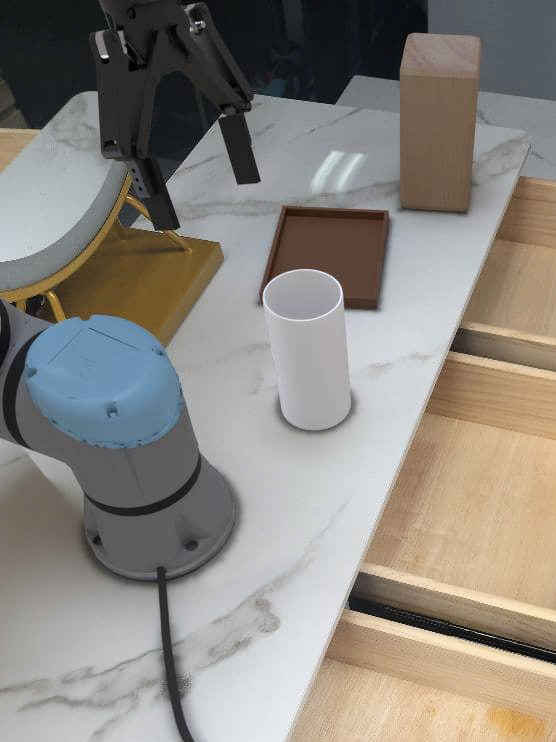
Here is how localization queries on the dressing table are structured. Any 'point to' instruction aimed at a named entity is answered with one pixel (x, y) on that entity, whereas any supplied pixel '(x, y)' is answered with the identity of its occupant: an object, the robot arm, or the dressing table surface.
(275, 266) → the tray
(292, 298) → the cup
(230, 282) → the dressing table surface
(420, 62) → the wooden block
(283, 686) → the dressing table surface
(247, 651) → the dressing table surface
